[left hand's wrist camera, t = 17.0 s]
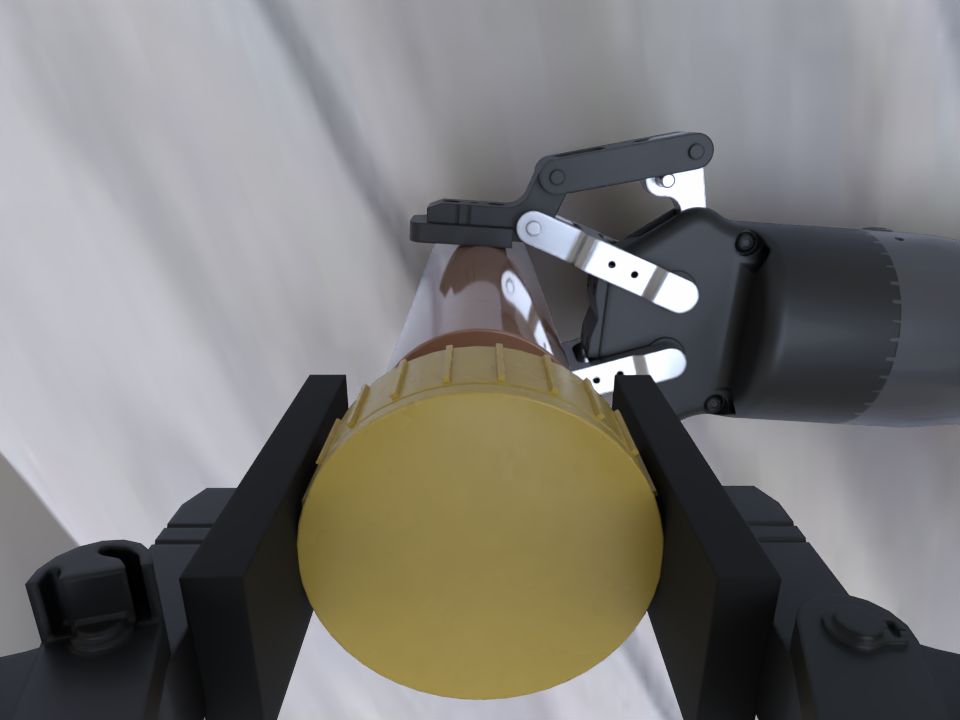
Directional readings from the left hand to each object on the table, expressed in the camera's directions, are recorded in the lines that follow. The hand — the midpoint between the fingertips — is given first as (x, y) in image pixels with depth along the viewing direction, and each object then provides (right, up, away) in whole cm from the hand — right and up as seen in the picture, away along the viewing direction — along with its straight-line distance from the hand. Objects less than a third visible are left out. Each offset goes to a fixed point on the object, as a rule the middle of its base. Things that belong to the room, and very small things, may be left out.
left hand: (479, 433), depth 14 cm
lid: (0, -1, -4) cm, 4 cm away
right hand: (-3, +4, +11) cm, 12 cm away
